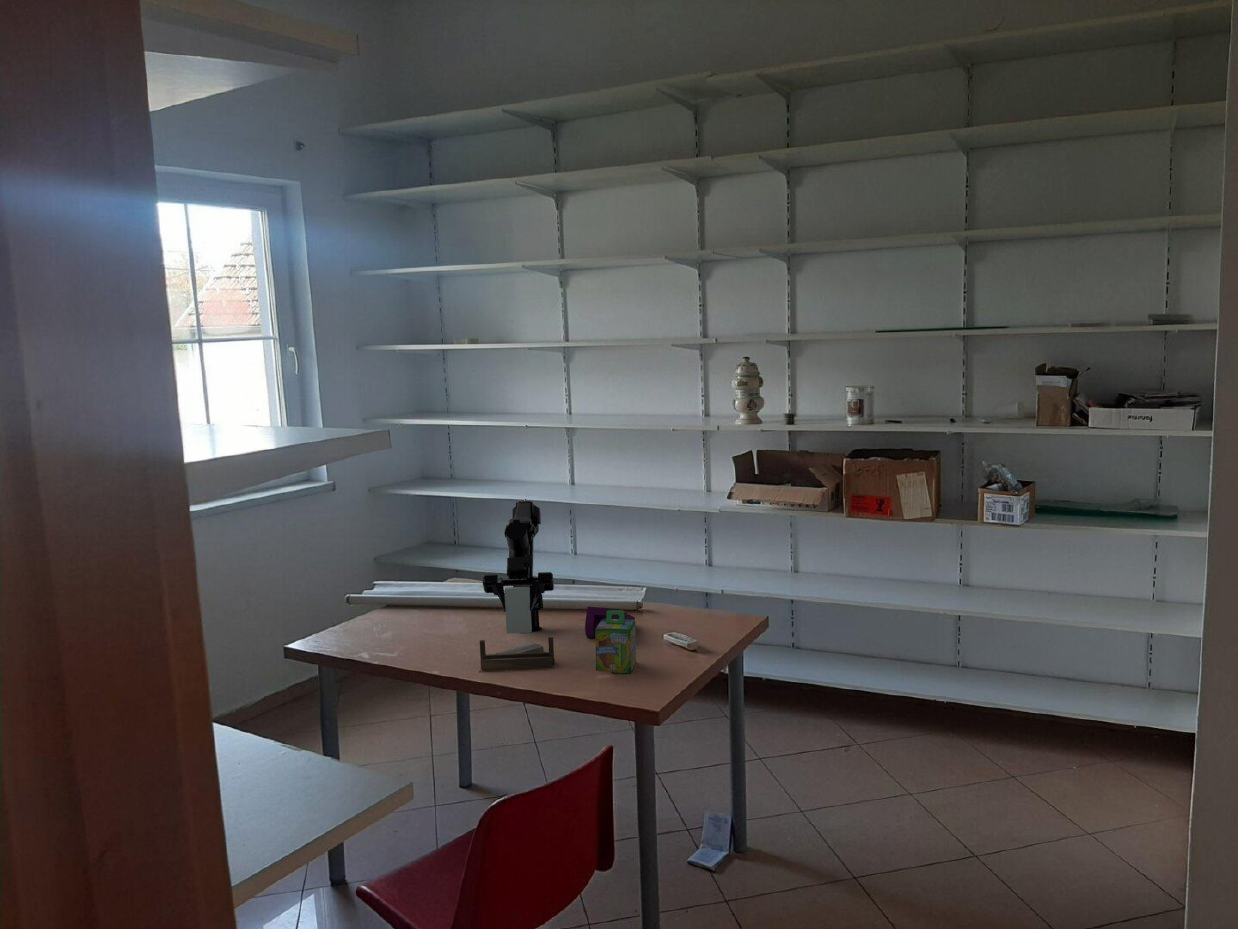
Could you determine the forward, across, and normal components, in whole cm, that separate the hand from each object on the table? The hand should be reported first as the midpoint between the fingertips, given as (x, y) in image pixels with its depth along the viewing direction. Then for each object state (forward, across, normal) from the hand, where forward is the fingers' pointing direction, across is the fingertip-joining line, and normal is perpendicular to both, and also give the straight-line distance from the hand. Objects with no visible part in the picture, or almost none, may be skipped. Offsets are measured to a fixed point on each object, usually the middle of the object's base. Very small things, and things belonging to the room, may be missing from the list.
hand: (517, 610), depth 243 cm
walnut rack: (+14, 0, +5) cm, 15 cm away
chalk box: (+16, +26, +4) cm, 30 cm away
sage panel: (+4, 0, +5) cm, 6 cm away
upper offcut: (+8, 0, +10) cm, 13 cm away
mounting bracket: (-4, +25, +24) cm, 35 cm away
